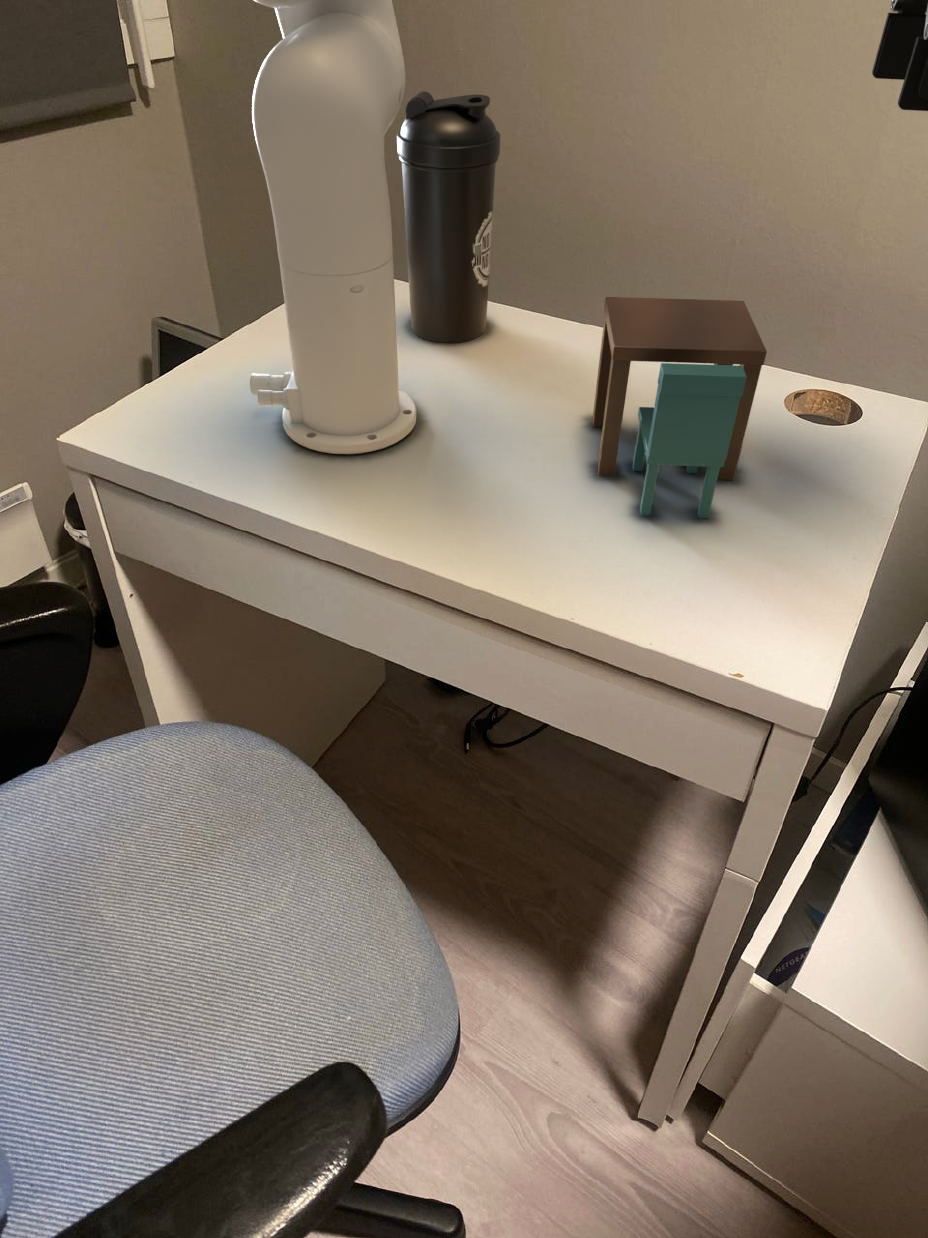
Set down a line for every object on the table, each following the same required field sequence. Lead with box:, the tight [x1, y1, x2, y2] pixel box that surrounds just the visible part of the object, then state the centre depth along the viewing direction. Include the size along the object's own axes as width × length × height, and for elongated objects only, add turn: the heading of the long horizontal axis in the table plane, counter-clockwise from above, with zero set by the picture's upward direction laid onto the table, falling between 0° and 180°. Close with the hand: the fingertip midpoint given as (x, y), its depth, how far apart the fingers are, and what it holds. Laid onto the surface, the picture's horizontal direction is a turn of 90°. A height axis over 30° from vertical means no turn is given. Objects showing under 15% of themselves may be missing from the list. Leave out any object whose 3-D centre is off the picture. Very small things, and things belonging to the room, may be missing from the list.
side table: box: [592, 296, 768, 481], centre depth 78 cm, size 12×10×12 cm
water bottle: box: [396, 90, 501, 344], centre depth 94 cm, size 10×10×23 cm
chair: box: [631, 362, 747, 519], centre depth 73 cm, size 8×6×13 cm
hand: (907, 92), depth 63 cm, fingers open, 9 cm apart
